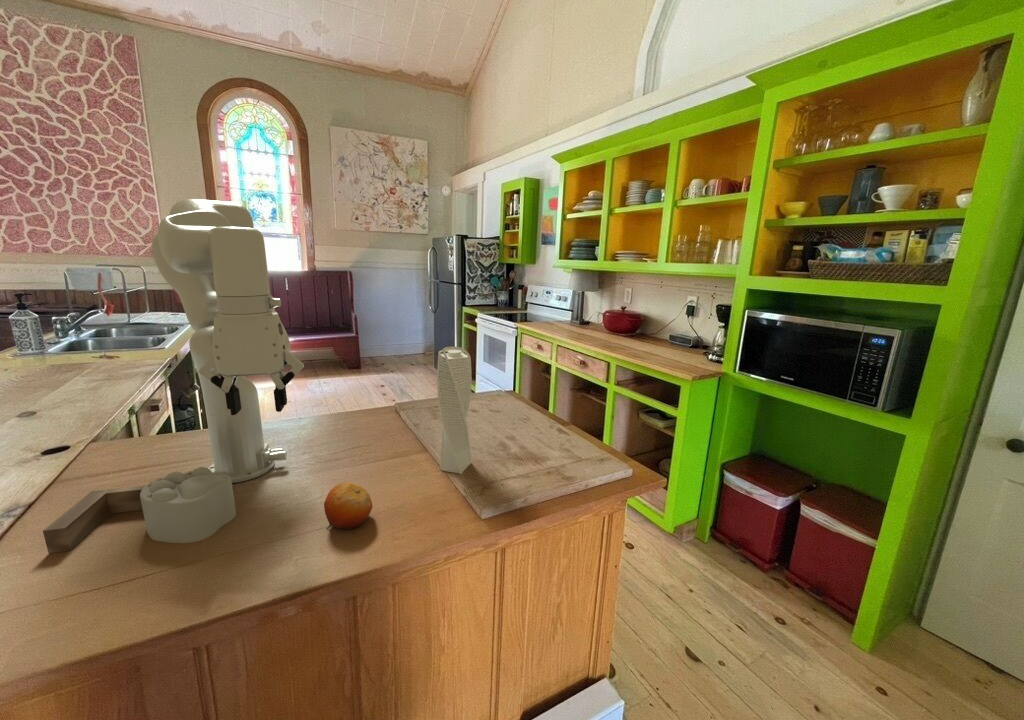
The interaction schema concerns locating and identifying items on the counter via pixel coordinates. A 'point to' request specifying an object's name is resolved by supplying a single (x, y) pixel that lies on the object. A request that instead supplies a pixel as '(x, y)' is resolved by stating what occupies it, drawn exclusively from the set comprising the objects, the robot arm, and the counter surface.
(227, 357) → the robot arm
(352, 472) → the counter surface
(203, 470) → the lumpy-topped squat cylinder
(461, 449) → the skyscraper
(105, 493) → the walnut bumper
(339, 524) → the fruit
